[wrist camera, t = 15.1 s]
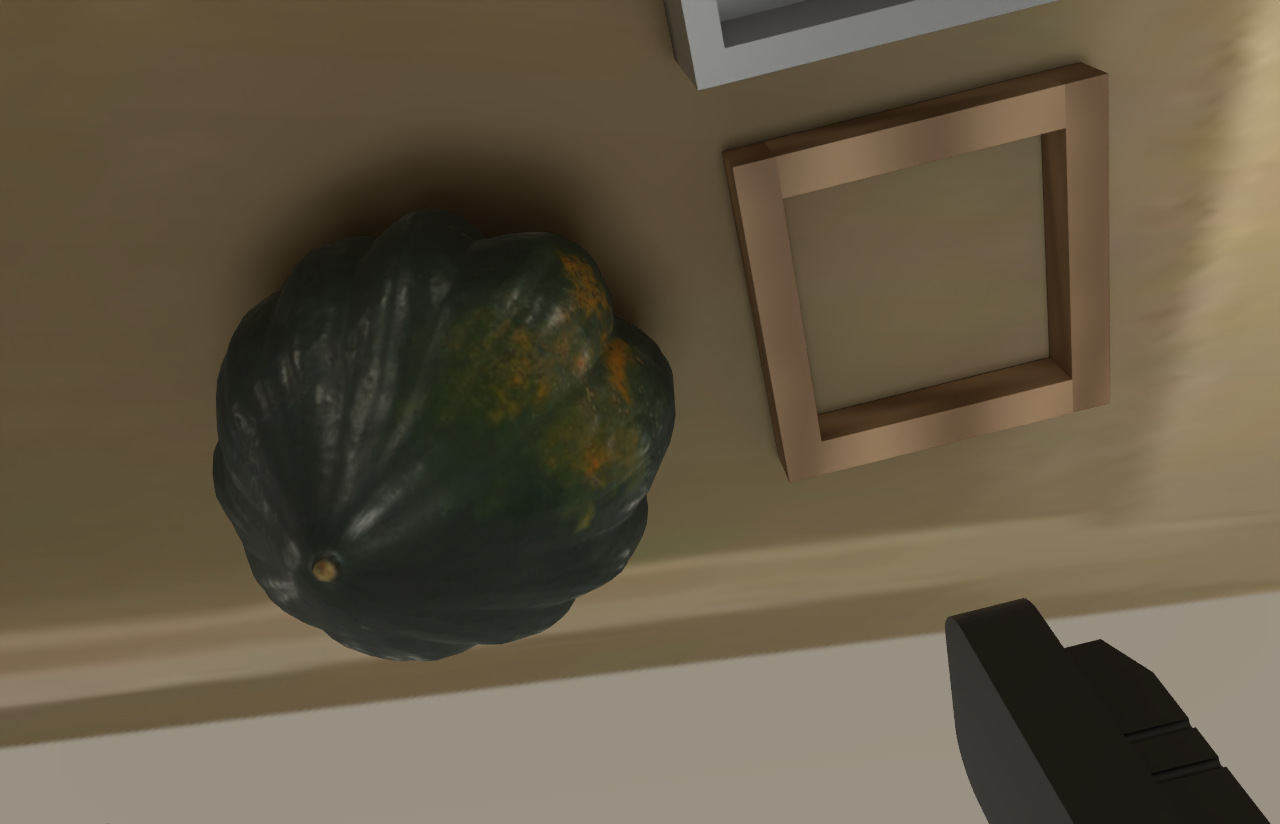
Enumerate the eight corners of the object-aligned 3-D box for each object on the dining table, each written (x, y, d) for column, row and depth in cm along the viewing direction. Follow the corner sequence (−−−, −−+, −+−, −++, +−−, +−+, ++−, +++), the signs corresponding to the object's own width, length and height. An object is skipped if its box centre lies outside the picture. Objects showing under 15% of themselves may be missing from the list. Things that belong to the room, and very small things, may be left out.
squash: (781, 518, 39) (662, 511, 25) (453, 703, 43) (183, 790, 28) (605, 202, 43) (413, 39, 29) (313, 395, 46) (11, 336, 32)
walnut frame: (778, 456, 45) (789, 482, 43) (722, 152, 38) (732, 167, 37) (1086, 380, 44) (1110, 403, 43) (1080, 62, 38) (1108, 73, 36)
